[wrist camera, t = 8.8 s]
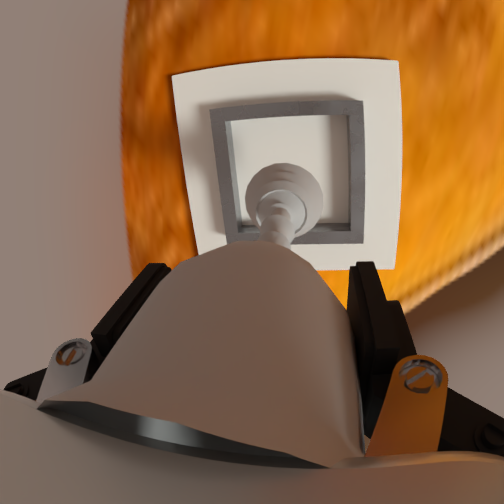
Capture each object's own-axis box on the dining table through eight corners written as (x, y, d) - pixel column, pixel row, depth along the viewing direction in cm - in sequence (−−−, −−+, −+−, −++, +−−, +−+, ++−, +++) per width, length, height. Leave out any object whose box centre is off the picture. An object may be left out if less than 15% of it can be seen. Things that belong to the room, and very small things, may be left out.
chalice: (217, 158, 20) (-25, 371, 4) (325, 135, 18) (434, 392, 2) (247, 260, 23) (150, 527, 7) (345, 244, 21) (379, 543, 5)
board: (395, 62, 22) (398, 60, 21) (392, 264, 31) (394, 269, 30) (175, 76, 26) (171, 75, 25) (204, 266, 35) (201, 270, 34)
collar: (359, 100, 24) (363, 100, 22) (360, 234, 29) (363, 243, 27) (215, 108, 26) (209, 109, 24) (231, 236, 32) (227, 245, 30)
